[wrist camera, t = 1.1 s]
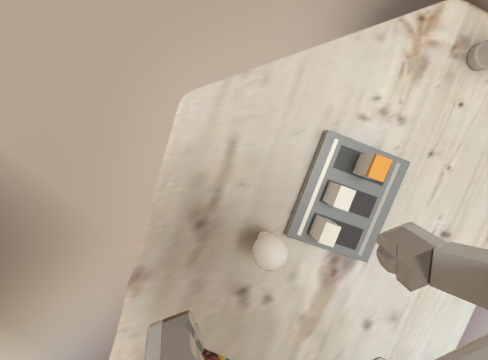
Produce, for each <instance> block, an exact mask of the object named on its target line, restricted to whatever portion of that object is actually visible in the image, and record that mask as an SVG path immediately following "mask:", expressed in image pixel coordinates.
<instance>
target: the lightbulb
mask: <svg viewBox="0 0 488 360" xmlns="http://www.w3.org/2000/svg"><path fill="white" fill-rule="evenodd" d="M252 254H253V258H254V261H255V262H256V264H257V265H258V266H259V267H261V268H263V269H265V270H269V271H271V270H276V269H279V268H280V267H282V266H283V265H284V263H285V262H286V260H287V256H288V250H287V246H286V244H285V242H284V240H283V239H282V238H280V237H279V236H277V235H274V234H269V233H268V232H266V231H262V232H260V233H259V234H258V239H257V240H256V241H255V243H254V245H253V249H252Z"/></svg>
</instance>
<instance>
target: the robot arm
mask: <svg viewBox="0 0 488 360" xmlns="http://www.w3.org/2000/svg"><path fill="white" fill-rule="evenodd" d="M376 242H377V243H378V244H379V247H378V249H377V258H378V260H379V262H380V264H381V265H382V266H383V268H384V269H386V270H387V271H388V272H390V273H393V274H396V278H397V280H398V281H399V282H400V283H401V284H402V285H403V286H405V287H406V288H407V289H408V290H409V291H410V292H411V291H414V290H416V289H419V288H421V287H424V286H426V285H429V284H430V286H432V287H435V288H437V289H439V290H442V291H444V292H447V293H449V294H451V295H454V296H456V297H459V298H461V299H463V300H466V301H468V302H471V303H473V304H475V305H478V306H480V307H483V308H485V309H487V310H488V250H487V249H482V248H477V247H473V246H468V245H463V244H458V243H454V242H449V243H447V242H445V241H443V240H442V239H440V238H438V237H436V236H435V235H433V234H431V233H430V232H428V231H426V230H425V229H423V228H421V227H419V226H418V225H416V224H414V223H412V222H408V223H405V224H403V225H401V226H398V227H395V228H393V229H390V230H388V231H386V232H383V233H381V234H378V236H377V237H376ZM203 351H204V345H203V339H202V335H201V331H200V328H199V326H198V324H197V323H195V322H194V316H193V314H192V312H191V310H187V311H185V312H182V313H179V314H177V315H174V316H171V317H168V318H166V319H163V320H161V321H158V322H156V323H153V324H150V326H149V328H148V334H147V344H146V353H145V360H204V358H203V356H202V353H203ZM376 360H384V359H382V358H378V359H376ZM435 360H488V334H486V335H484V336H482V337H480V338H478V339H476V340H474V341H472V342H470V343H468V344H466V345H464V346H462V347H460V348H457V349H455V350H453V351H451V352H449V353H447V354H445V355H443V356H441V357H439V358H437V359H435Z"/></svg>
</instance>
